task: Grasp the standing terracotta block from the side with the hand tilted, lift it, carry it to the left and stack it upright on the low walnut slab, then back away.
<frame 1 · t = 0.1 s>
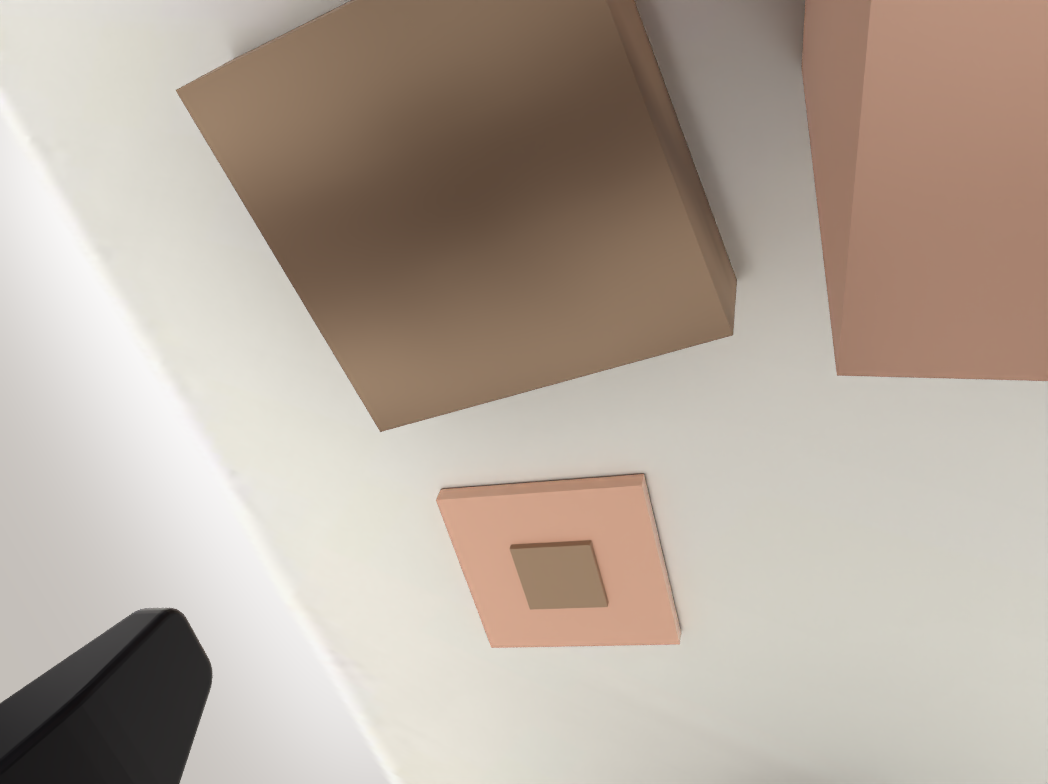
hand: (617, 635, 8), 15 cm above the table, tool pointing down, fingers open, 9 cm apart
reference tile: (563, 561, 28), on the table
walnut slab: (490, 164, 22), on the table
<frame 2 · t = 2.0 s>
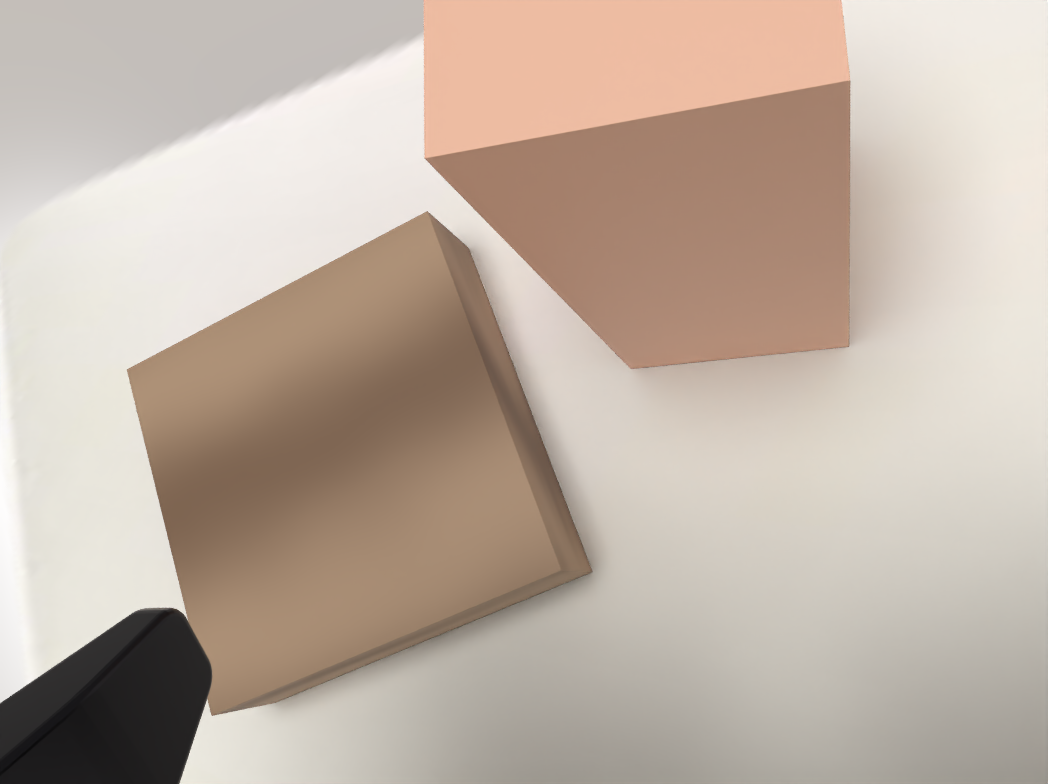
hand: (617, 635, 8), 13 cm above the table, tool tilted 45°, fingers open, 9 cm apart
walnut slab: (380, 473, 25), on the table
terracotta block: (728, 256, 23), on the table
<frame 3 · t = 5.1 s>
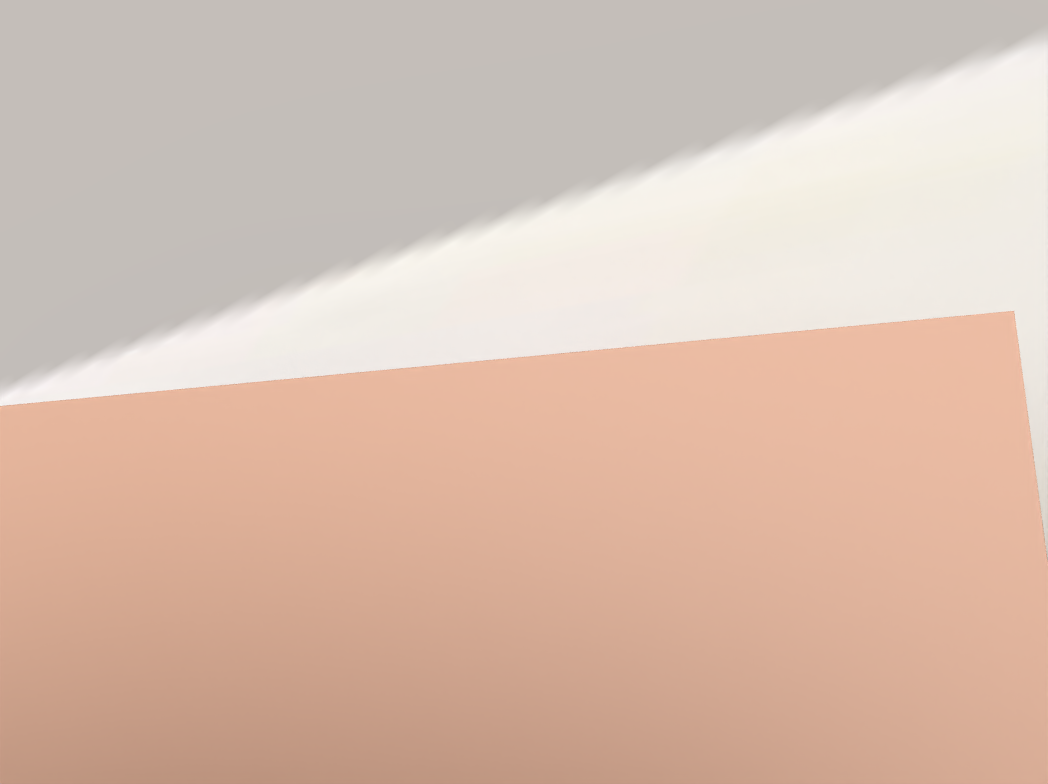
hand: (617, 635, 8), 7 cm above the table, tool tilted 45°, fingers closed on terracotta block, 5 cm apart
terracotta block: (714, 720, 14), on the table, touching gripper
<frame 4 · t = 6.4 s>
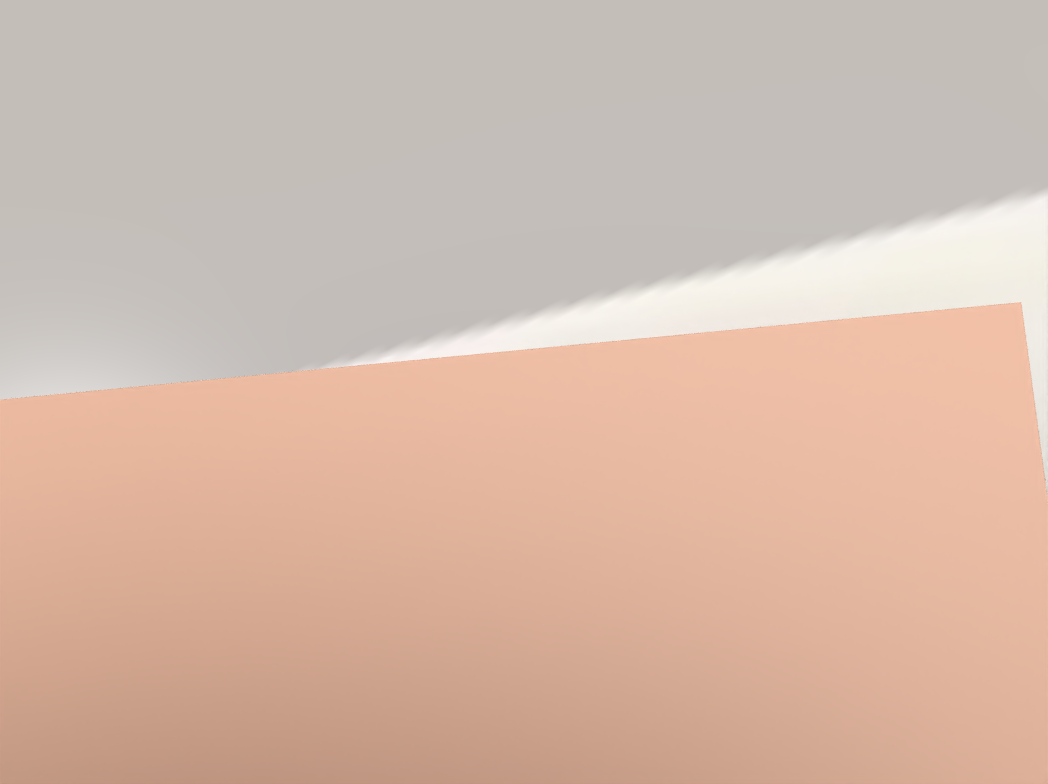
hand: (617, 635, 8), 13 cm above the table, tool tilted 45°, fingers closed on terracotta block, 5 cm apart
terracotta block: (715, 718, 14), point 7 cm above the table, touching gripper
when the fingers open (10 cm above the table, at t = 8.1 s): terracotta block drops 1 cm, resting on walnut slab.
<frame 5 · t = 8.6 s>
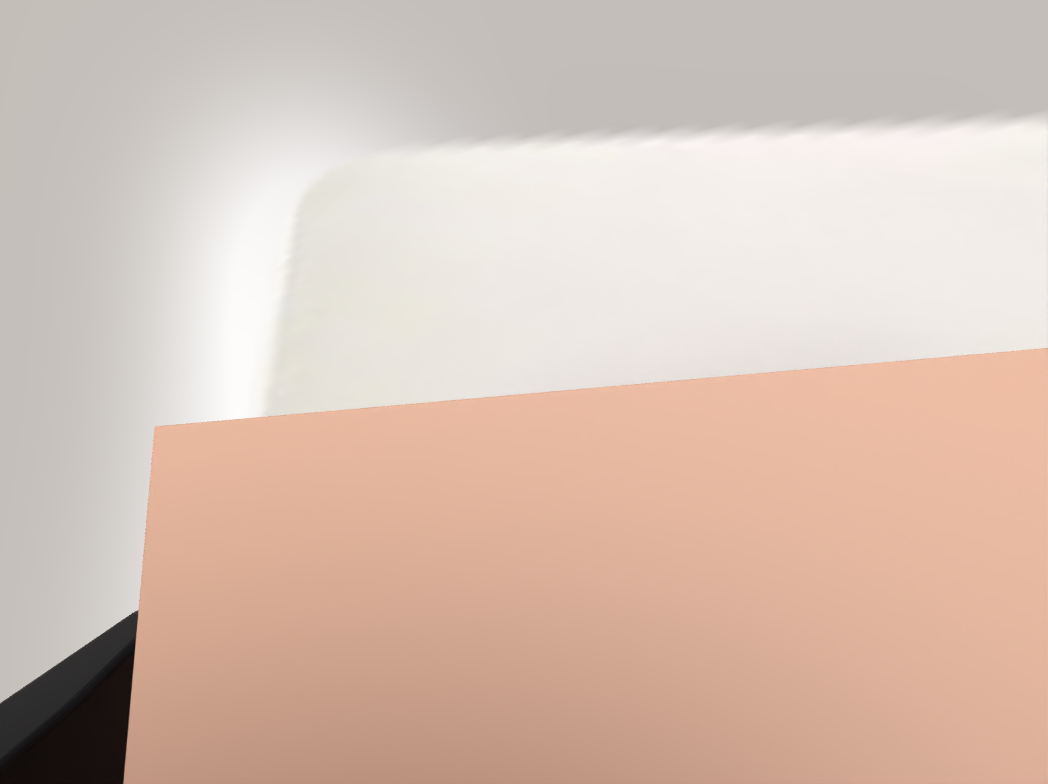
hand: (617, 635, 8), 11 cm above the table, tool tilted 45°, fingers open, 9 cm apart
terracotta block: (737, 720, 15), point 3 cm above the table, touching walnut slab
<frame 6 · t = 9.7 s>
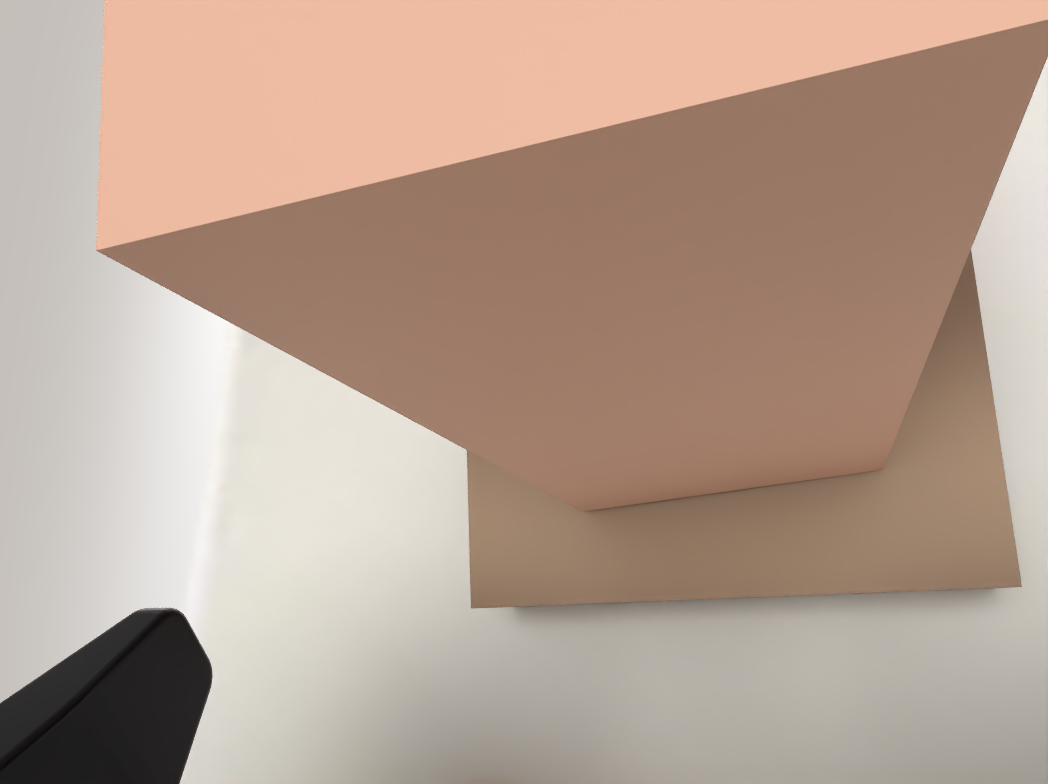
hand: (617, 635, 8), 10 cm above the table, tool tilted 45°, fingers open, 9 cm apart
walnut slab: (720, 374, 20), on the table, touching terracotta block
terracotta block: (704, 350, 17), point 3 cm above the table, touching walnut slab
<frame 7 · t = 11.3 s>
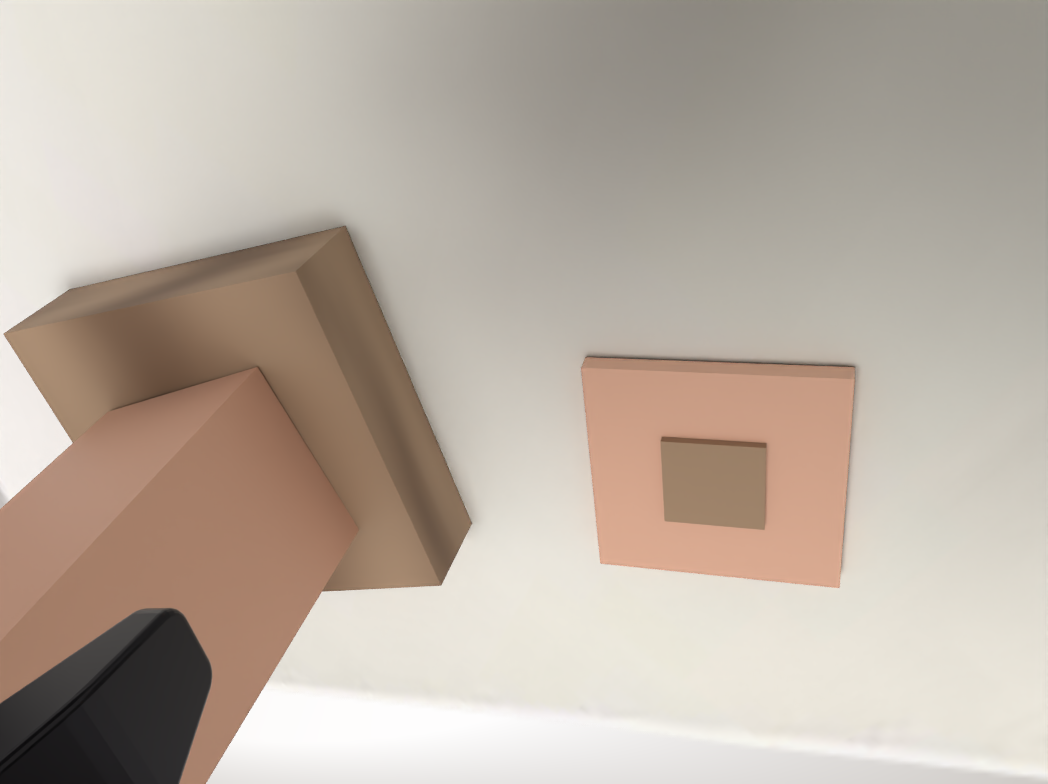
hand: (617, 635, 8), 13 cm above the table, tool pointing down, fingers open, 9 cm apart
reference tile: (716, 468, 23), on the table
walnut slab: (281, 397, 26), on the table, touching terracotta block
terracotta block: (233, 470, 24), point 3 cm above the table, touching walnut slab
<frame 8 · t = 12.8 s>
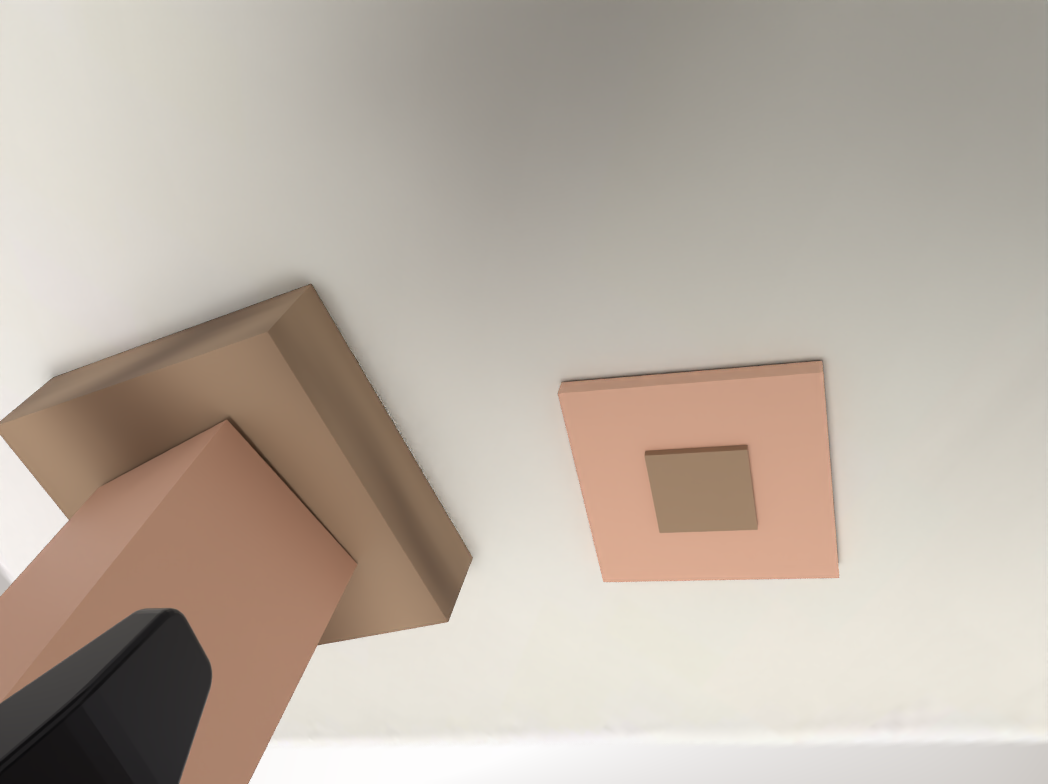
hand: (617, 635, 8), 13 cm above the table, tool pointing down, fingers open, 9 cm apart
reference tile: (703, 475, 23), on the table
walnut slab: (272, 456, 27), on the table
terracotta block: (226, 525, 24), point 2 cm above the table
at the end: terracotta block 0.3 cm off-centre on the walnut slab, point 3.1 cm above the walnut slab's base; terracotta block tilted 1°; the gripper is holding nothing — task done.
